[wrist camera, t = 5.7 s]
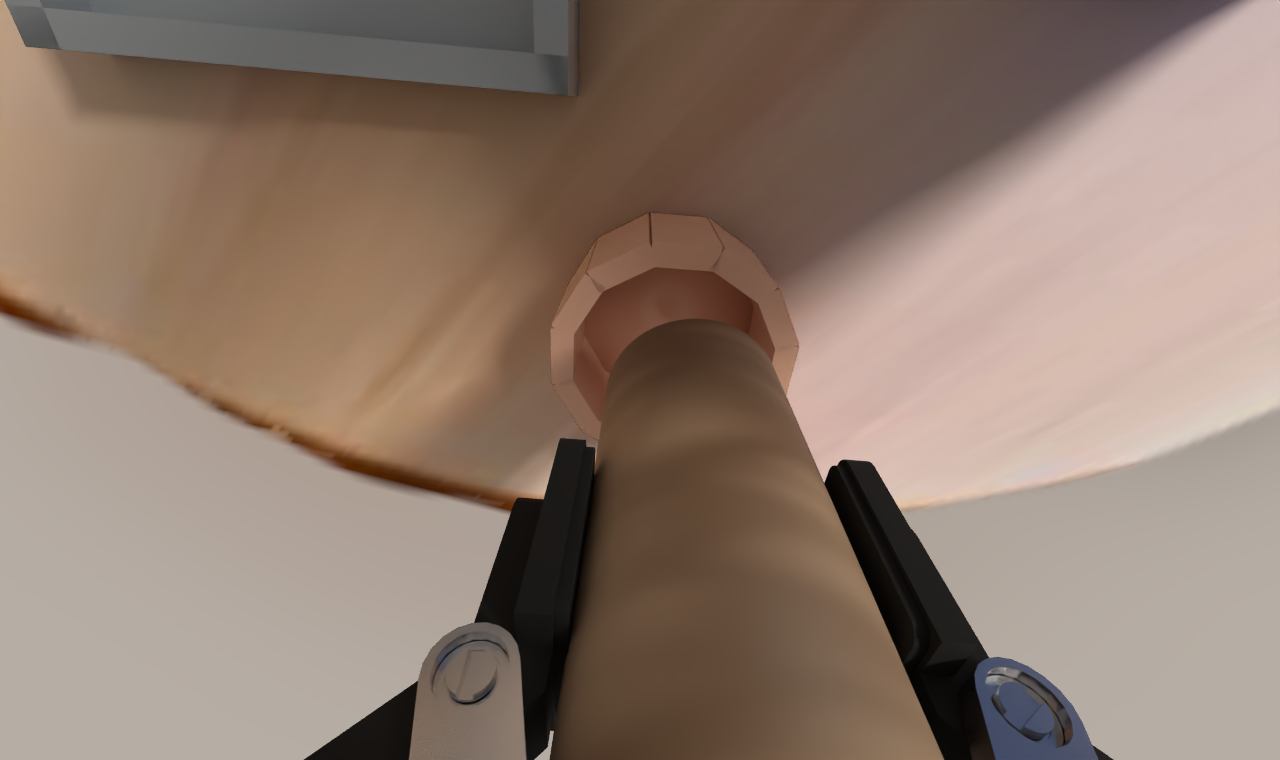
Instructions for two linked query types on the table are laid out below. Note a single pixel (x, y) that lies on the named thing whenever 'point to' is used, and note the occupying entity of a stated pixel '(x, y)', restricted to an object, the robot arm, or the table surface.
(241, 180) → the table surface
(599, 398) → the terracotta cup
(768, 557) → the walnut cylinder
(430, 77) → the slate tray
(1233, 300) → the table surface
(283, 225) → the table surface
